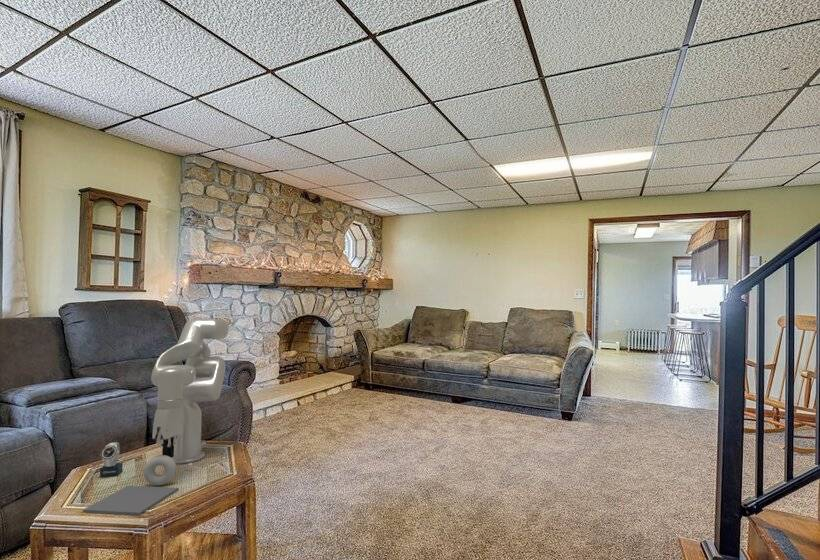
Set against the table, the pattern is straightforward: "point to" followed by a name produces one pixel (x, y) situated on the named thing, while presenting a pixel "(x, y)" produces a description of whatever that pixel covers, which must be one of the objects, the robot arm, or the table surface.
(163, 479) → the donut
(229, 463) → the table surface
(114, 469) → the watch
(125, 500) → the mat
